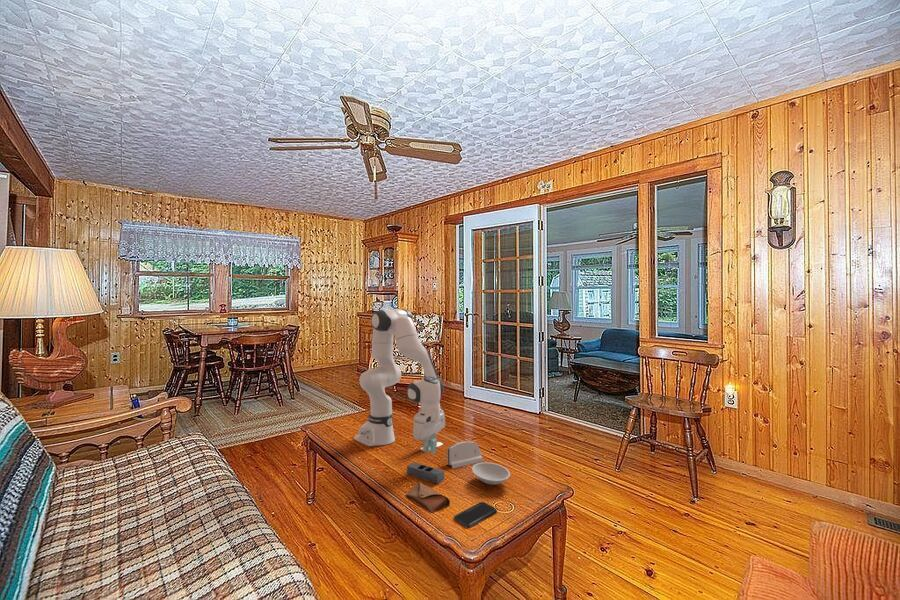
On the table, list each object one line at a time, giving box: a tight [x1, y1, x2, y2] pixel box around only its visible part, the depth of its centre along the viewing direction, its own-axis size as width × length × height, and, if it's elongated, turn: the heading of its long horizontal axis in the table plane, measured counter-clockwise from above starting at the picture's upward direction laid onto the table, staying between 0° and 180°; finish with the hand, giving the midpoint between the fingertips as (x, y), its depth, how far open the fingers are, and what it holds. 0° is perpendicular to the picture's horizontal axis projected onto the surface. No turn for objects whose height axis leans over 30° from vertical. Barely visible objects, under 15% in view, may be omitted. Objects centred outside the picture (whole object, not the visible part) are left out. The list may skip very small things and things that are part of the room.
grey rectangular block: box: [406, 461, 445, 485], centre depth 169 cm, size 16×5×4 cm, turn 58°
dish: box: [471, 461, 511, 486], centre depth 163 cm, size 18×14×5 cm
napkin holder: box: [446, 441, 484, 469], centre depth 184 cm, size 17×5×10 cm, turn 117°
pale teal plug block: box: [422, 436, 438, 455], centre depth 180 cm, size 6×3×6 cm, turn 57°
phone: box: [453, 501, 498, 529], centre depth 140 cm, size 8×1×15 cm
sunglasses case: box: [404, 481, 451, 514], centre depth 150 cm, size 18×7×7 cm, turn 44°
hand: (429, 443), depth 180 cm, fingers closed on pale teal plug block, 3 cm apart
